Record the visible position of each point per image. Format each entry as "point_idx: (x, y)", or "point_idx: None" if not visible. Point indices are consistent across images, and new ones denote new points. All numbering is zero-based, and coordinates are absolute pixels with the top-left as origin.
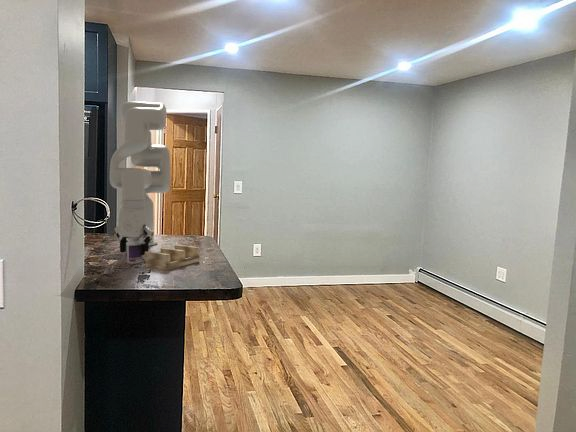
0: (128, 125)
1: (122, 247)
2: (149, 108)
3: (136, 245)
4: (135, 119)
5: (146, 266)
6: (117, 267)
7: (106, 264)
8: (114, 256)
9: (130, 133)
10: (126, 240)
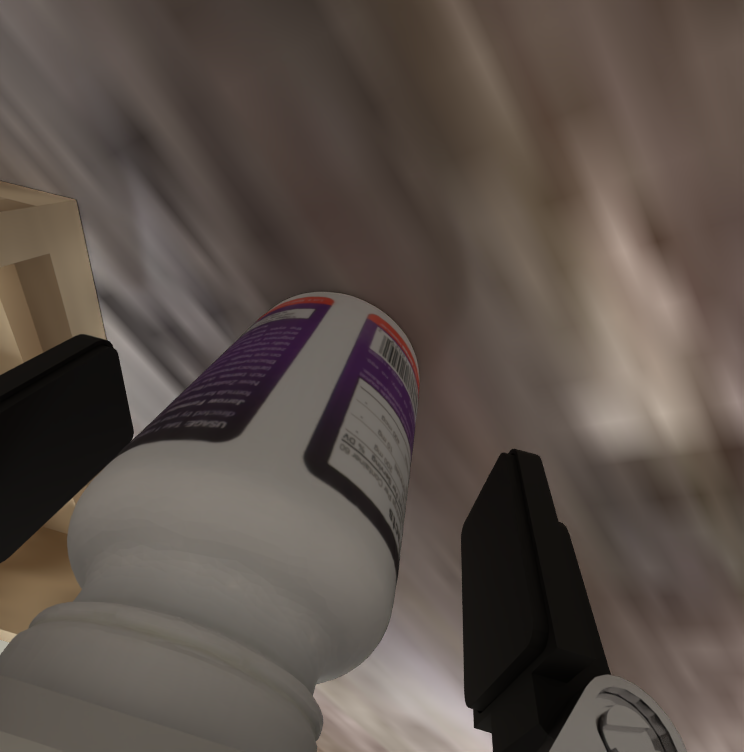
0: None
1: (505, 522)
2: None
3: (99, 473)
4: None
5: (45, 194)
6: (356, 3)
7: (651, 158)
8: (696, 562)
9: None
10: (486, 716)
